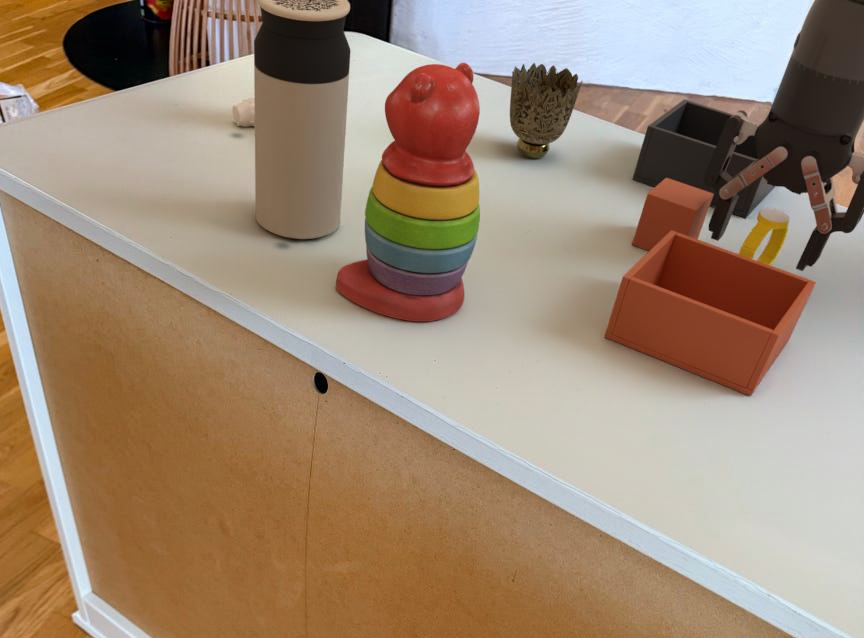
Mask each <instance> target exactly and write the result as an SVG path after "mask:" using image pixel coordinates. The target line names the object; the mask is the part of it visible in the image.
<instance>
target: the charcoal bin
mask: <svg viewBox="0 0 864 638" xmlns="http://www.w3.org/2000/svg"><path fill="white" fill-rule="evenodd" d="M733 115H734V113H730V112H727V111H724V110H721V109H717V108H713V107H711V106H707V105H705V104H704V105H703V104H700V103H697V102H694V101H691V100H688V99H682V100H680V102H678V103H677V104H675V105H674V106H673V107H671V108H670V109H668V111H666V112H665V113H664V114H662V115H661V116H659V117H658V118H657V119H655V120H654V121H653V122H652V123H650V124H648V125H647V128H646V131H645V133H644V138H643V141H642V145H641V148H640V151H639V155H638V158H637V162H636V165H635V168H634V172H633V176H632V180H634V181H636V182H639V183H643V184H645V185H648V186H651V187H653V188H655V187H656V186H657V185H658V184H659V183H661V182H662V181H663V180H664V179H665V178H669V179H672V180H675V181H678V182H681V183H684V184H687V185H690V186H693V187H695V188H698V189H701V190H704V191H707V192H710V193H713V194H714V195H713V198H712V201H711V204H710V206H709V207H712V208H715V206H716V203H717V201H718V193H717V191H716V190H715V189H714V188H712V187H711V186H706V185H705V184H704V181H703V179H704V176H705V173H706V171H707V168H708V166H709V163H710V161H711V158H712V156H713V153H714V151H715V149H716V146H717V144H718V141H719V139H720V136H721V134H722V131H723V129H724V126H725V124H726V122H727V120H728V119H729V118H730V117H731V116H733ZM757 159H758V155H757V150H756V146H755V141H754V136H748V138H747V139H746V140H745V141H744V142H743V143H742V144H740V145H736V147H735V150H734V152H733V154H732V157H731V159H730V162H729V164H728V166H727V169H726V172H727V173H728V174H729V175H730V176H731V177H732V178H733V177H734V176H735V175H737V174H738V173H740V172H741V171H742V170H744V169H745V168H746V167H748V166H749V165H750V164H751V163H753V162H754V161H755V160H757ZM775 187H776V186H772V185H769V184H767V181H766V180H765V179H764V177H763V175H762V176H761V177H759V178H758V179H756V180H755V181H753V182H752V183H751V184H749V185H748V186H746V187H744V188H743V189H742V190H740V191H739V192H737V194H736V195H738V196H739V197H738V199H737V202H736V204H735V207H734V210H733V212H732V215H735V216H738V217H741V218H744V219H747V218H748V217H749V216H750V214H752V212H753V211H754V210H755V209H756V208H757V207H758V206H759V205H760V204H761V203H762V201H764V200H765V198H766V197H767V196H768V195H769V194H770V193H771V192H772V191H773V189H774V188H775Z"/></svg>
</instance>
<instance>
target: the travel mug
mask: <svg viewBox="0 0 864 638" xmlns="http://www.w3.org/2000/svg"><path fill="white" fill-rule="evenodd" d="M256 3H257V5H258V6H259V8H260V9H259V10H260V15H261V22H262V23H261V25H260V27H259V29H258V31H257V33H256V36H255V38H254V40H253V55H254V56H253V58H254V59H253V61H254V63H253V67H254V68H253V71H254V72H253V73H254V78H253V79H254V80H253V83H254V86H253V87H254V88H253V89H254V98H255V127H254V180H255V181H254V182H255V183H254V184H255V185H254V187H255V188H254V190H255V191H254V192H255V193H254V194H255V195H254V196H255V197H254V198H255V203H254V205H255V220H256V222H257V223H258V224H259V226H261V227H262V228H264V230H267V231H269V232H270V233H272V234H274V235H277V236H279V237H283V238H286V239H296V240H312V239H313V240H314V239H317V238H322V237H325V236H328V235H329V234H332V233H334V232H336V230H338V229H339V227H340V225H341V213H342V195H343V179H344V166H345V165H344V163H345V147H346V134H347V133H346V129H347V113H348V100H349V99H348V98H349V82H350V65H351V47H350V45H349V42H348V39H347V37H346V33H345V31H344V30H345V29H344V28H345V24H346V19H347V15H348V14H349V13H350V10H351V3H350V2H349V0H256Z"/></svg>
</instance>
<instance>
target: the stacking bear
mask: <svg viewBox="0 0 864 638" xmlns="http://www.w3.org/2000/svg"><path fill="white" fill-rule="evenodd" d="M473 82H474V71H473V69H472V67H471V65H469V64H468V63H467V62H461V63H459V64H458V65H457V66H456V67H455V68H453V67H451V66H449V65H445V64H438V63H431V64H425V65H420V66H418V67H416V68H414V69H413V70H411V71H410V72H408V73H407V74H406V75H405V76H404V77H403V78H402V80H401V81H400V82H399V83H398V84H397V85H396V87H395V88H394V89H393V90H392V91H391V92H389V94H388V95H387V96H386V99H385V102H384V114H385V120H386V124H387V126H388V127H387V128H388V130H389V132H390V134H391V136H392V139H393V141H392V142H390V144H388V145H387V147H386V148H385V149H384V150H383V152H382V154H381V160H380V161H379V164H378V166H377V168H376V171H375V174H374V177H373V181H372V186H371V188H370V190H369V192H368V196H367V200H366V203H365V210H364V240H365V245H366V246H365V250H366V258H367V259H363V260H359V261H355V262H351V263H348V264H346V265H344V266H342V267H341V268H340V269H339V271H338V272H337V275H336V280H335V288H336V289H337V291H338V292H339V293H340V294H341V295H342V296H344V297H345V298H347V299H348V300H350V301H351V302H353V303H355V304H356V305H359V306H360V307H363V308H365V309H367V310H370V311H372V312H374V313H376V314H377V313H378V314H380V315H383V316H387V317H390V318H394V319H398V320H403V321H404V320H405V321H409V322H433V321H438V320H442V319H446V318H448V317H450V316H452V315H454V314H456V312H458V311H459V310H460V309H461V308H462V307H463V305H464V301H465V286H464V280H463V276H464V273H465V272H466V269H467V266H468V263H469V261H470V259H471V257H472V255H473V252H474V250H475V246H476V243H477V240H478V233H479V228H480V217H481V207H480V180H479V179H480V178H479V175H478V173H477V171H476V169H475V165H474V162H473V160H472V158H471V156H470V154H469V153H468V152H467V151H466V150H467V149H468V147H469V145H470V144H471V142H472V140H473V138H474V136H475V134H476V131H477V127H478V126H479V118H480V112H481V107H480V106H481V105H480V100H479V96H478V92H477V90H476V88H475V86H474V85H473Z"/></svg>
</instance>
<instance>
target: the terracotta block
mask: <svg viewBox="0 0 864 638" xmlns="http://www.w3.org/2000/svg"><path fill="white" fill-rule="evenodd" d="M713 195H714V194H713V193H710V192H707V191H704V190H701V189H698V188H695V187H693V186H690V185H687V184H684V183H681V182H678V181H675V180H672V179H669V178H665V179H664V180H663V181H662V182H661V183H659V184H658V185H657V186H656V187H653V188H652V189H651V190H650V191H648V193H647V194H646V198H645V200H644V204H643V206H642V210H641V213H640V217H639V220H638V223H637V226H636V230H635V234H634V236H633V239H632V242H631V245H632V246H635V247H638V248H640V249H643V250H645V251H648V252H649V251H650V250H651V249H652V248H653V247H654V246H655V245H656V244H657V243H659V242H660V241H661V240H662V239H663V238H664V237H665V236H666V235H667V234H668V233H669V232H670V231H671V230H672V231H675V232H677V233H681V234H683V235H686V236H689V237H692V238H695V239H697V240H699V237H700V234H701V231H702V228H703V226H704V223H705V220H706V217H707V215H708V212H709V209H710V207H711V206H710V204H711V201H712V198H713Z"/></svg>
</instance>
